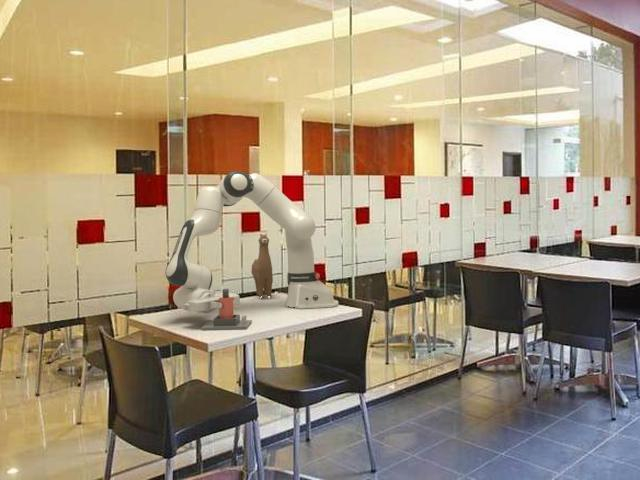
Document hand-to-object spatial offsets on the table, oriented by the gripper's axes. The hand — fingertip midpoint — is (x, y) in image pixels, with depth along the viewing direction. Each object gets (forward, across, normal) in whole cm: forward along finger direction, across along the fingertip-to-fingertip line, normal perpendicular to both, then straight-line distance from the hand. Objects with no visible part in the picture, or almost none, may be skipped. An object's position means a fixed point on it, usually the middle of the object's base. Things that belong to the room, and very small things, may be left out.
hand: (227, 304), depth 220 cm
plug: (-1, 0, +6) cm, 6 cm away
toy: (-41, +54, +8) cm, 68 cm away
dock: (-1, 0, +8) cm, 8 cm away
